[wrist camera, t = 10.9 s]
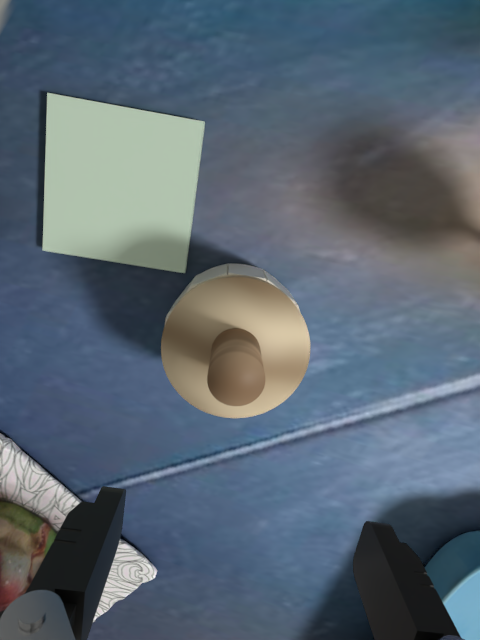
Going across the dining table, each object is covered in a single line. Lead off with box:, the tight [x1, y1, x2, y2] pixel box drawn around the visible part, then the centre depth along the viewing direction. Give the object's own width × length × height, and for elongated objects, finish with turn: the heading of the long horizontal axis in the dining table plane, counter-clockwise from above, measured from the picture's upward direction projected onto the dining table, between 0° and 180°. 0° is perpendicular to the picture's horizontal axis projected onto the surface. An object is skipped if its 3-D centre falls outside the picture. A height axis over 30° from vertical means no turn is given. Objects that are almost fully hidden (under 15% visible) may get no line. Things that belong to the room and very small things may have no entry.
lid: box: [161, 275, 310, 418], centre depth 27 cm, size 11×11×6 cm
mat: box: [43, 93, 205, 273], centre depth 32 cm, size 12×12×1 cm
